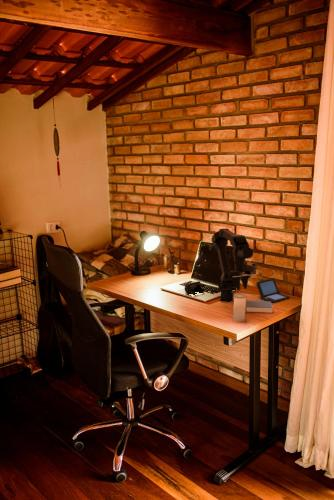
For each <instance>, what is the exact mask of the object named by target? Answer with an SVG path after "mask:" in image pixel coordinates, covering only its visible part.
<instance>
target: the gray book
mask: <svg viewBox="0 0 334 500" xmlns="http://www.w3.org/2000/svg"><path fill="white" fill-rule="evenodd" d="M272 304H273V303H271V301H265V300H247V299H246V307H245V313H258V314H259V313H260V314H261V313H263V314H273V312H274V307H273V305H272Z"/></svg>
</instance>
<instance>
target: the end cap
mask: <svg viewBox="0 0 334 500" xmlns="http://www.w3.org/2000/svg"><path fill="white" fill-rule="evenodd" d="M205 286H206V284H205V283H201V281H195V282H191V283H187V284H185V286H184V292H185V293H186V294H187V295H188V294H193V295H195V294H197V293H195V292H199V293H205V291H206V289H205ZM202 287H203V288H202Z"/></svg>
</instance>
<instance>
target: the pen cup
mask: <svg viewBox="0 0 334 500" xmlns="http://www.w3.org/2000/svg"><path fill="white" fill-rule="evenodd" d="M246 300H247V294H246V293H243V292H236V293H235V292H234V299H233V310H232V311H233V314H232V321H234V322H237V323H243V322H245V320H246V312H245V307H246Z"/></svg>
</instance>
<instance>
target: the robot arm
mask: <svg viewBox="0 0 334 500" xmlns="http://www.w3.org/2000/svg"><path fill="white" fill-rule="evenodd" d="M210 240H211V243H212V245H213V248H214V249H215V250H216V251H217V256H218V260H219V264H220V270H221V274H222V275H221V276H220V282H219V284H218V285H217V288H218V290H220V291H219V292H220V298H219V302H223V303H224V302H226V303H232V302H233V301H234V294H235V292H234V291H236V289H237V291H241V284H242V286H243V288H244V290H247V288H248V283H249V280H250V278H251V277H252V276H253V275H254V274H255V273H257V270H258V269H259V268H258V266H257V263H252V264H249V263H248V259H249V260H250V259H251V258H252V257H253V255H254V251H253V249H252V248H251V247H250V244H249V242H248V240H247V237H246V236H245V235H243V234H236V233H234V232H233V231H231V230H230V229H229V228H219V230H218V231H216V232H215V233H213V234H212V236H211V239H210ZM228 241H229V244H230V245H231V246H232V248H233V249H232V253H233V259H234V260H233V262H232V265H234V269H233V270H231V266H230V263H229V258H228V254H227V249H226V248H227V245H228Z"/></svg>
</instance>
